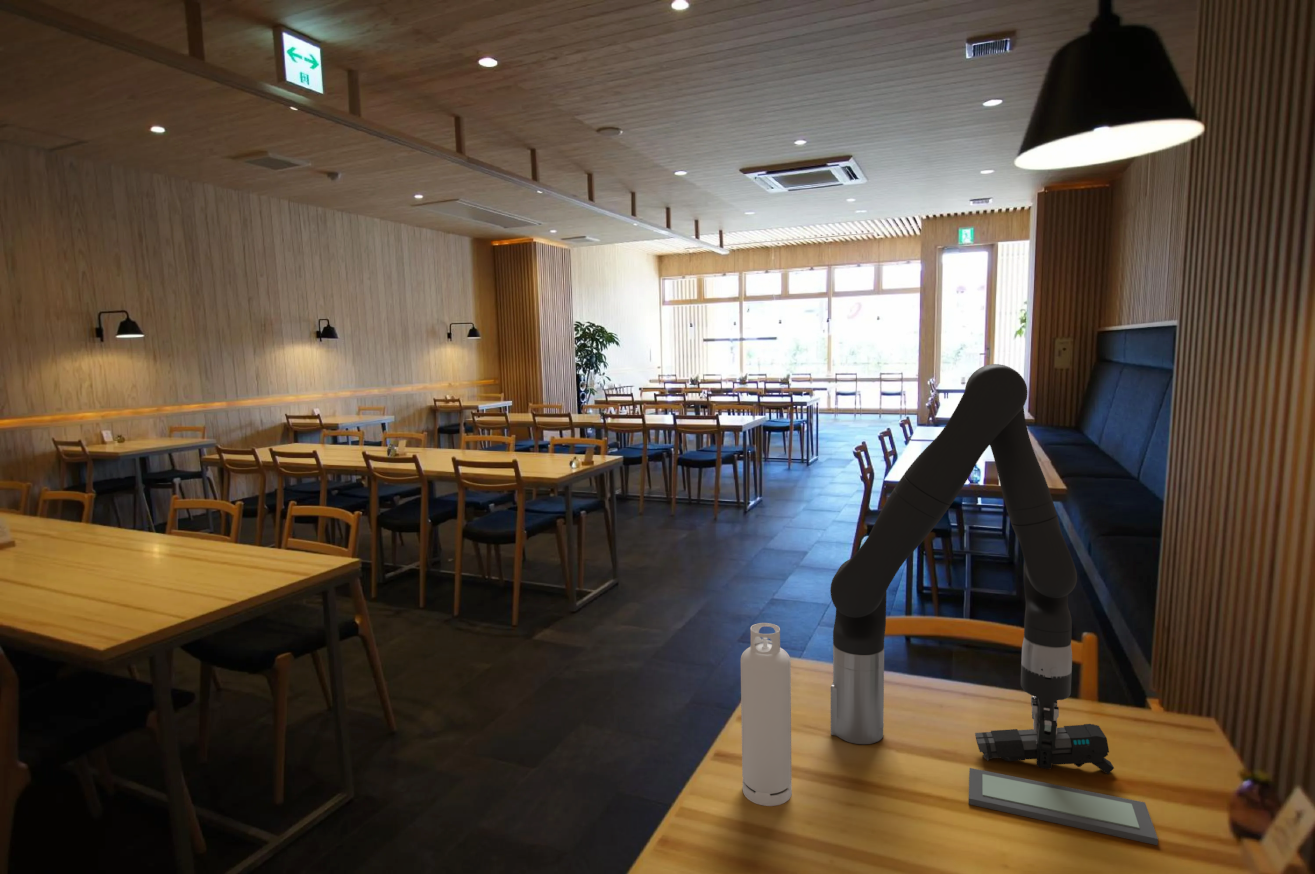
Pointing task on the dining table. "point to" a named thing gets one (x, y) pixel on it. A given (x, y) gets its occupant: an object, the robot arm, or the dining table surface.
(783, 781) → the bottle
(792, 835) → the dining table surface
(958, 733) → the dining table surface
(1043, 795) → the charging mat
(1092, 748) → the gun
